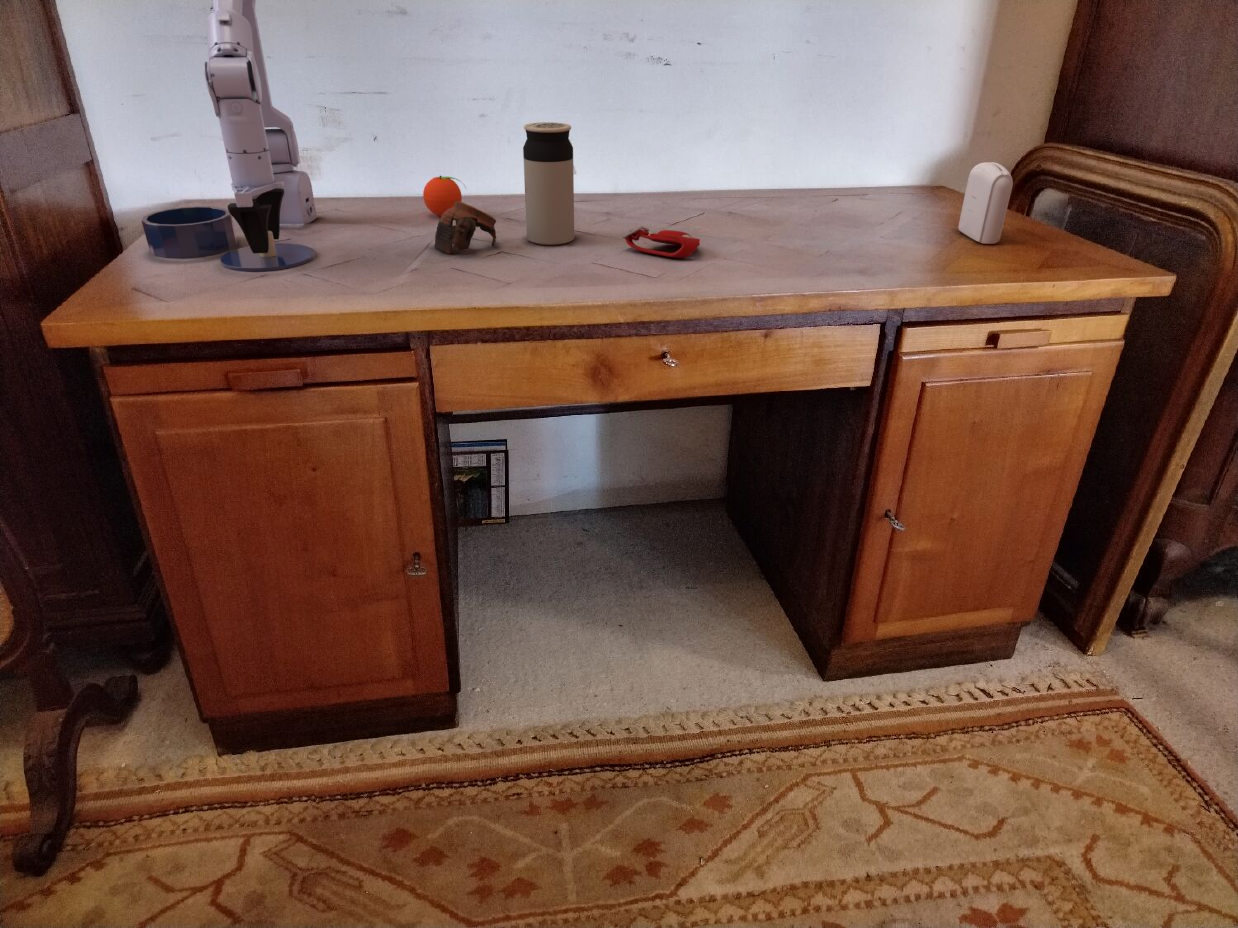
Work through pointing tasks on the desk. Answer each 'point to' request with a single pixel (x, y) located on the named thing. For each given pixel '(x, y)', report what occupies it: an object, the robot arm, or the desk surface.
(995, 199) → the photo printer
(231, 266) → the crock lid
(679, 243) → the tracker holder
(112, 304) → the desk surface
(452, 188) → the clementine
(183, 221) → the crock
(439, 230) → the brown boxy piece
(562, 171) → the travel mug
